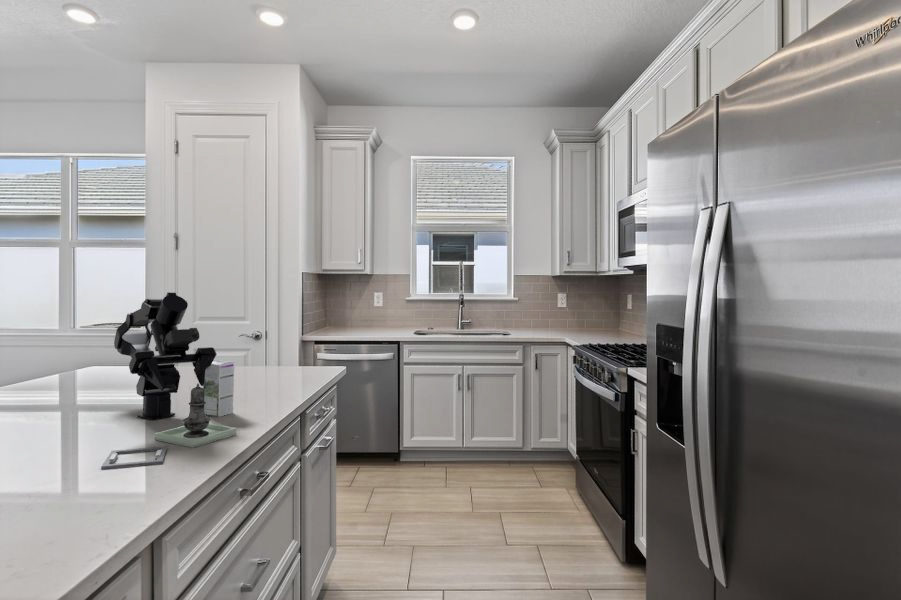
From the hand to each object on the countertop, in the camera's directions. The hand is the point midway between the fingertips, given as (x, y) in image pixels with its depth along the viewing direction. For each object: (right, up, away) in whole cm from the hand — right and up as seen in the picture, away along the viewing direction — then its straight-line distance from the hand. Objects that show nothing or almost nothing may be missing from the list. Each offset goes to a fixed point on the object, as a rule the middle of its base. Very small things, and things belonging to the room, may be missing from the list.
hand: (183, 387), depth 121 cm
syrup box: (+1, -11, +16) cm, 19 cm away
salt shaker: (+6, -10, -5) cm, 13 cm away
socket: (+2, -11, -21) cm, 23 cm away
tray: (+6, -11, -5) cm, 13 cm away
